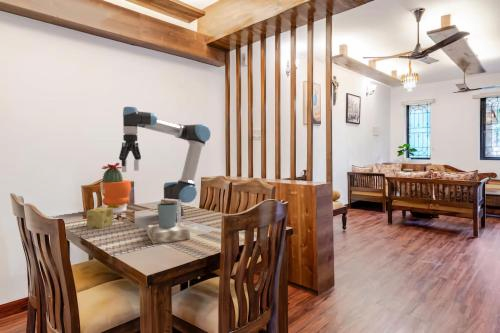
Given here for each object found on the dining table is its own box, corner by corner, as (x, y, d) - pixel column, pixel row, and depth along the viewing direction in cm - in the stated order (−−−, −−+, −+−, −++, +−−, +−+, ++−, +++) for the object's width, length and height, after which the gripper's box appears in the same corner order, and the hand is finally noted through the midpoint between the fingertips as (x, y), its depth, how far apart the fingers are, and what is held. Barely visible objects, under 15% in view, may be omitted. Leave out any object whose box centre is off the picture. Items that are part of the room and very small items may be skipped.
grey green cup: (154, 227, 160) (154, 204, 159) (163, 223, 170) (163, 201, 169) (172, 229, 158) (172, 205, 157) (180, 224, 168) (180, 202, 167)
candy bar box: (160, 227, 181) (160, 199, 180) (165, 225, 186) (165, 198, 185) (176, 229, 177) (176, 200, 176) (181, 227, 182) (181, 199, 181)
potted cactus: (92, 213, 218) (92, 163, 216) (111, 207, 240) (111, 162, 238) (120, 214, 215) (120, 164, 213) (137, 208, 237) (137, 162, 235)
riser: (180, 230, 174) (180, 221, 174) (189, 239, 158) (189, 229, 158) (147, 234, 166) (147, 225, 166) (153, 243, 150) (153, 233, 150)
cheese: (102, 228, 177) (101, 211, 176) (85, 227, 179) (85, 210, 179) (113, 224, 187) (113, 207, 187) (97, 223, 189) (97, 207, 189)
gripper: (135, 135, 190) (135, 169, 191) (111, 133, 165) (112, 172, 166) (146, 135, 189) (146, 170, 190) (124, 133, 164) (125, 172, 165)
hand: (130, 171), depth 178 cm, fingers open, 13 cm apart
